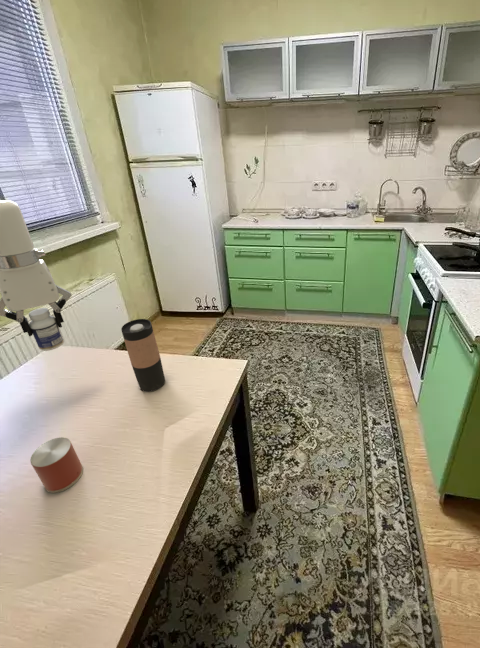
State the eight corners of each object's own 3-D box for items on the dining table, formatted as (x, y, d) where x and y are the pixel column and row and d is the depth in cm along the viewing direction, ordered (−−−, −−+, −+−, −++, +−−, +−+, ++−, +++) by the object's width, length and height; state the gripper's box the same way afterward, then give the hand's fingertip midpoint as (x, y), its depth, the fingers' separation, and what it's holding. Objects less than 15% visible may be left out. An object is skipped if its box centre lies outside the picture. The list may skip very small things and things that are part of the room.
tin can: (39, 497, 65) (23, 471, 62) (51, 467, 72) (37, 441, 68) (78, 487, 67) (65, 461, 64) (86, 458, 73) (75, 433, 70)
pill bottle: (40, 343, 83) (26, 309, 79) (65, 337, 85) (52, 304, 81) (37, 353, 79) (22, 318, 74) (63, 347, 81) (50, 313, 76)
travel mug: (134, 383, 96) (116, 325, 87) (160, 371, 100) (145, 315, 91) (144, 396, 91) (126, 336, 82) (170, 384, 95) (155, 325, 86)
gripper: (60, 248, 79) (82, 313, 87) (-34, 263, 69) (1, 335, 78) (64, 255, 74) (87, 324, 82) (-36, 273, 64) (1, 348, 72)
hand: (45, 328), depth 80 cm, fingers closed on pill bottle, 5 cm apart
